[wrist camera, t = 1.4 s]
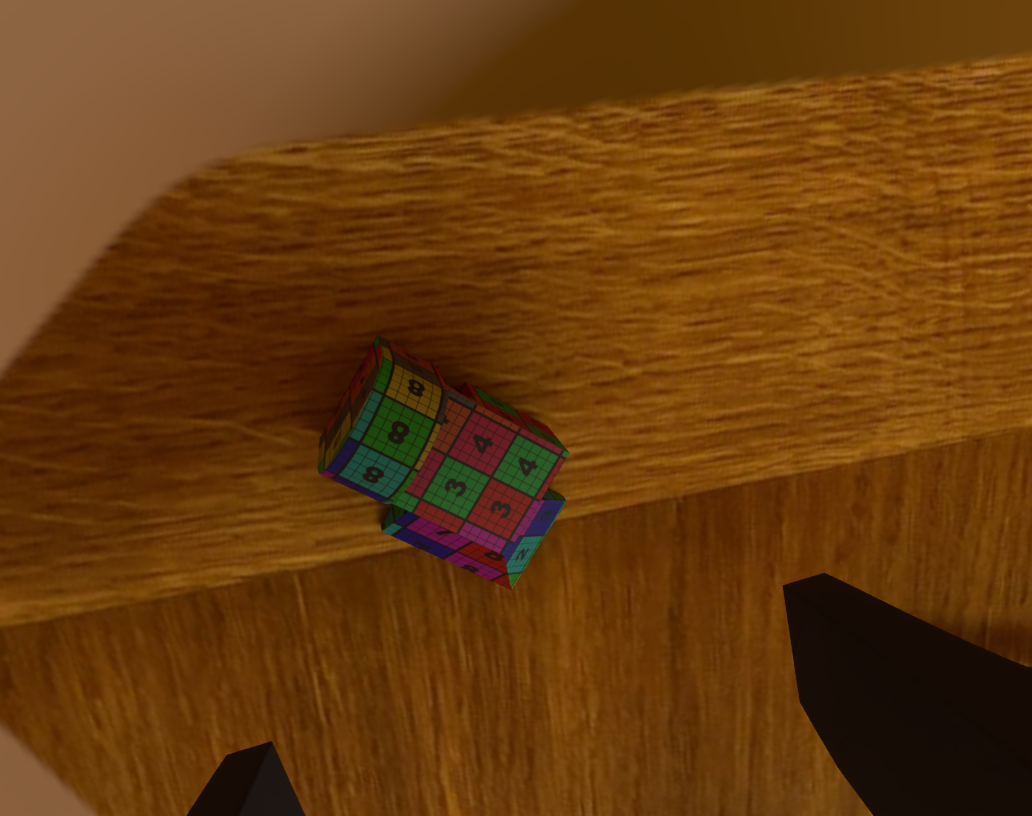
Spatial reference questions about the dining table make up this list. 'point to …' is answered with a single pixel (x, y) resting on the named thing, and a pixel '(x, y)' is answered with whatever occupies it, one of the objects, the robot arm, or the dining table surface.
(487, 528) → the block
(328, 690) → the dining table surface
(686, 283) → the dining table surface
